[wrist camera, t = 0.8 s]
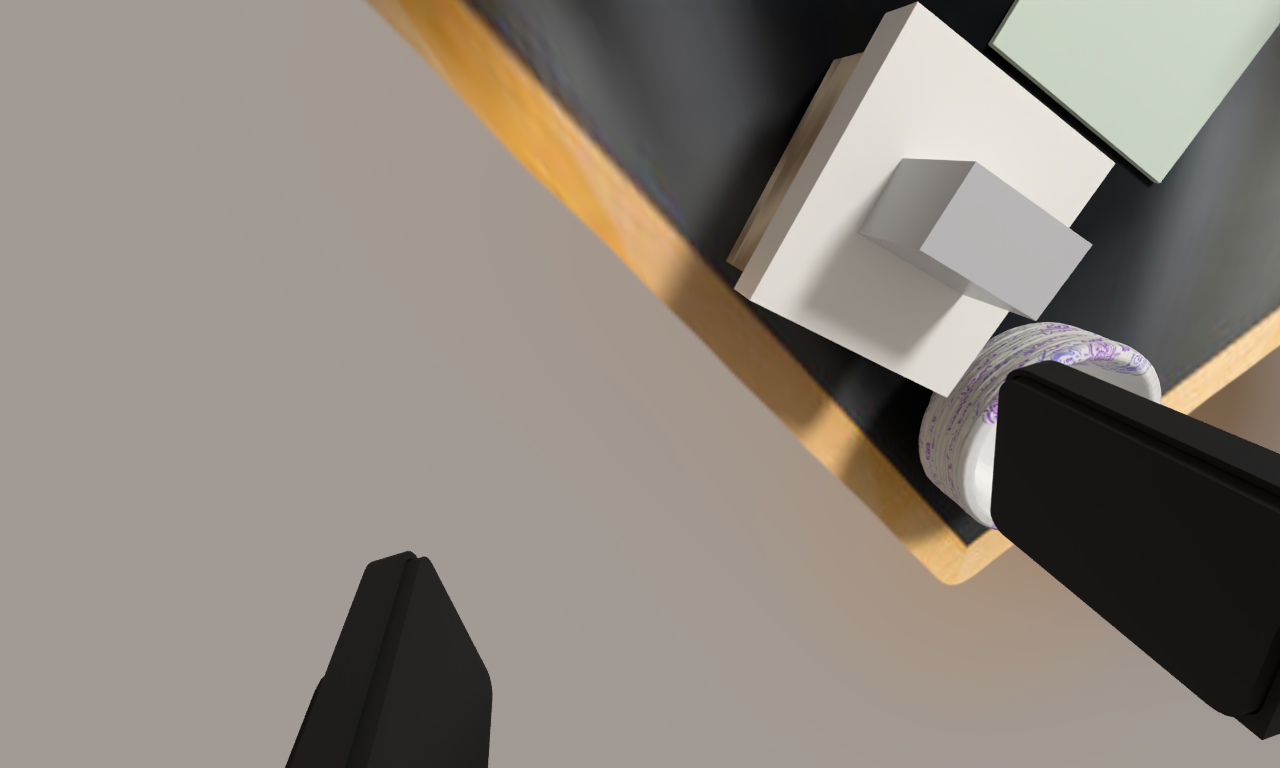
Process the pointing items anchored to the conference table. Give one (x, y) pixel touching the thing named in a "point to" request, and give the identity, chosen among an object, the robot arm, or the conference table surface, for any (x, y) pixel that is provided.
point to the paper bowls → (968, 416)
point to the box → (792, 159)
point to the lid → (926, 207)
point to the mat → (1137, 64)
